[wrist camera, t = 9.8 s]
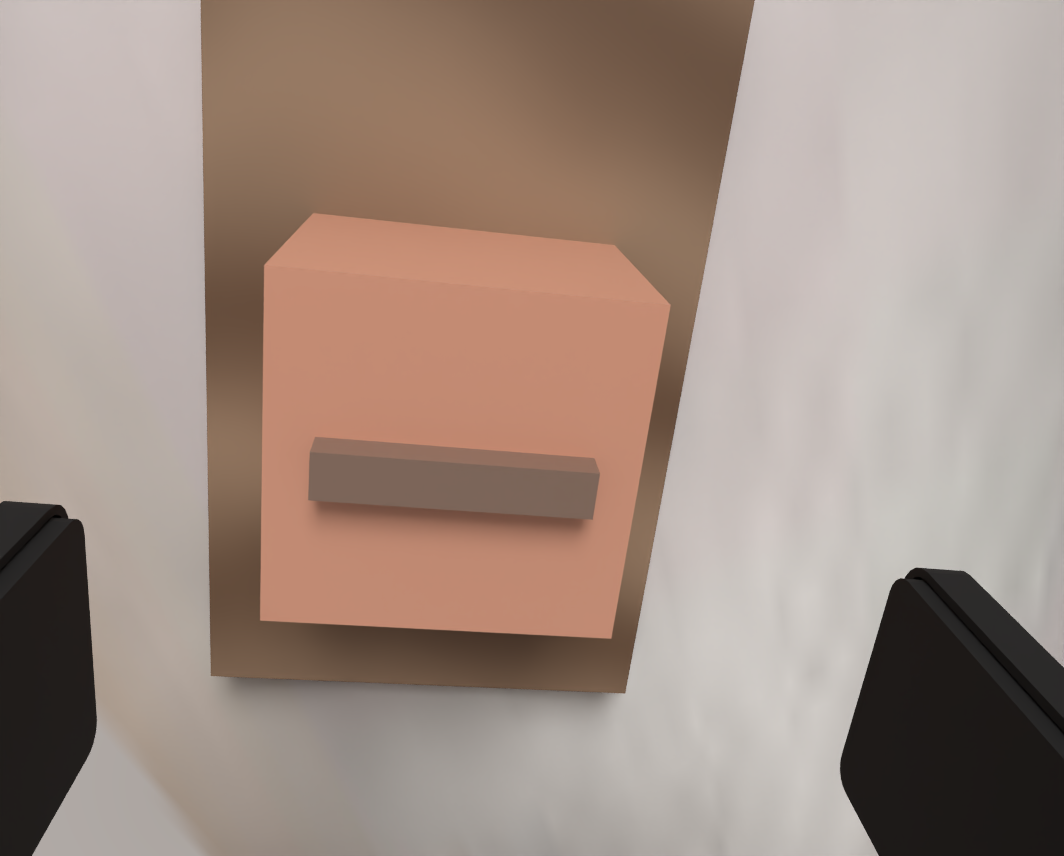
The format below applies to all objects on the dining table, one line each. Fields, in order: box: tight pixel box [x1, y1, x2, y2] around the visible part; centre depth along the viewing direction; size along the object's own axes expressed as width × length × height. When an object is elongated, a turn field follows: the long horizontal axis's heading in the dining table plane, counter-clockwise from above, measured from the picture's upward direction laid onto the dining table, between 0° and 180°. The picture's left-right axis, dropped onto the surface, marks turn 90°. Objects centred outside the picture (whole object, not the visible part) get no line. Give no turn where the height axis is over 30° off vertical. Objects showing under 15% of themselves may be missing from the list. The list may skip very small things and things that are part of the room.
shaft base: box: [201, 0, 755, 693], centre depth 18 cm, size 16×10×5 cm, turn 173°
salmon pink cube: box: [260, 213, 671, 639], centre depth 16 cm, size 6×6×6 cm
